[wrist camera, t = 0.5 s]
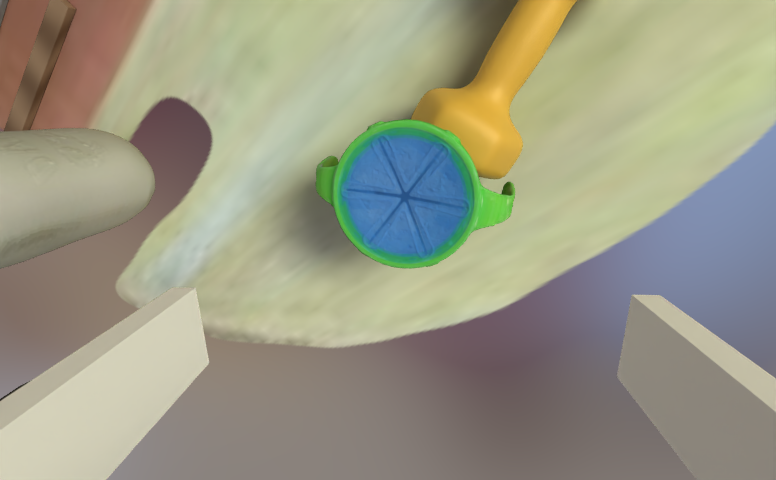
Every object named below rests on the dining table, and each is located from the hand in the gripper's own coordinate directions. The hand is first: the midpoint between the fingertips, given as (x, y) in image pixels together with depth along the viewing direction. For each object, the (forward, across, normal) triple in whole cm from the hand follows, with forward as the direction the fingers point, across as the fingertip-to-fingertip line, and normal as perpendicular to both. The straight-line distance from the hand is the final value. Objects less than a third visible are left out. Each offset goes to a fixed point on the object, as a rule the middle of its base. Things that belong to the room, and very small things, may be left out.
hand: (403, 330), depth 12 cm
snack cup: (+26, +1, +1) cm, 26 cm away
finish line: (+32, -42, +11) cm, 54 cm away
